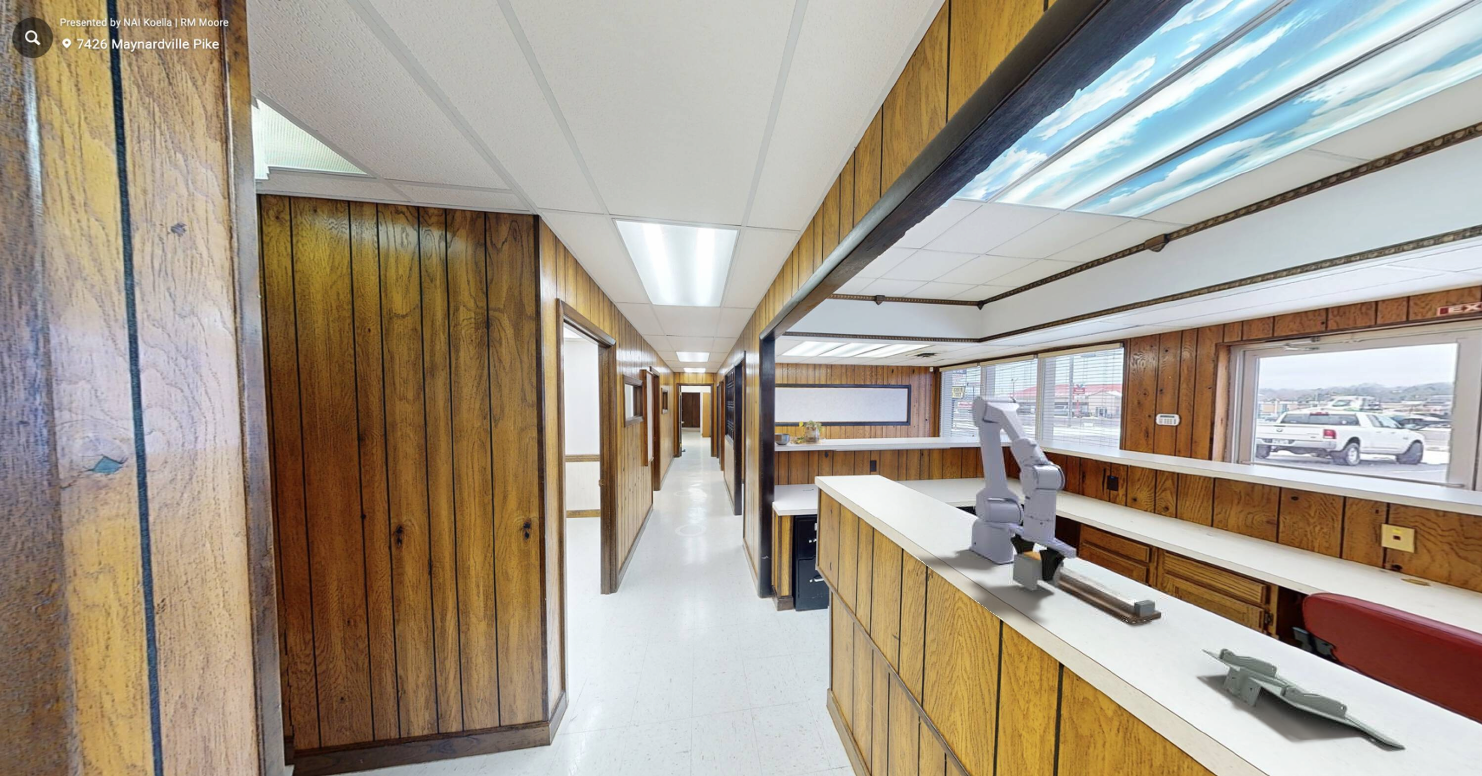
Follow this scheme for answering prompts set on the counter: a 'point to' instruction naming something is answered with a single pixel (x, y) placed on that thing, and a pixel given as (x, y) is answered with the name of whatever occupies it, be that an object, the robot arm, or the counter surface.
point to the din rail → (1108, 593)
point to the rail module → (1031, 570)
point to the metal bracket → (1283, 690)
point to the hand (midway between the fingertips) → (1036, 574)
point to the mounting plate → (1104, 603)
